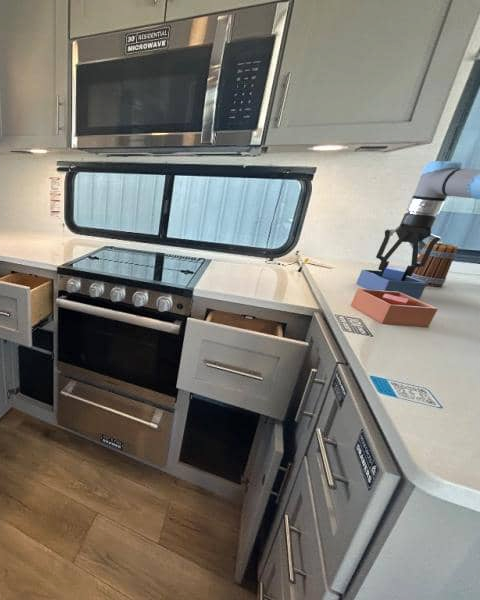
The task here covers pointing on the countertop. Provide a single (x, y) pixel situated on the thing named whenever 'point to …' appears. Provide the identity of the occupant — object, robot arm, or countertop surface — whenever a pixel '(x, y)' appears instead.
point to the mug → (435, 264)
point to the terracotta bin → (393, 308)
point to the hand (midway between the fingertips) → (390, 281)
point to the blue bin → (391, 284)
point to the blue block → (393, 273)
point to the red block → (394, 299)
